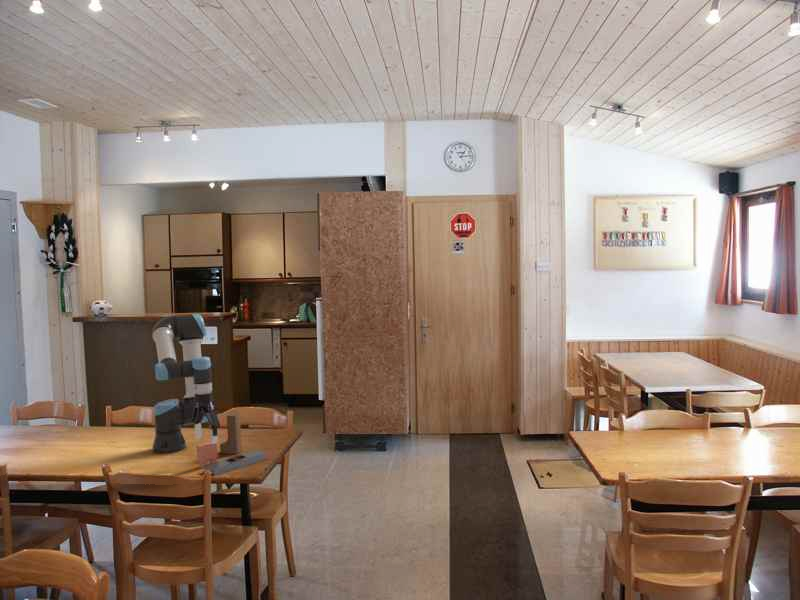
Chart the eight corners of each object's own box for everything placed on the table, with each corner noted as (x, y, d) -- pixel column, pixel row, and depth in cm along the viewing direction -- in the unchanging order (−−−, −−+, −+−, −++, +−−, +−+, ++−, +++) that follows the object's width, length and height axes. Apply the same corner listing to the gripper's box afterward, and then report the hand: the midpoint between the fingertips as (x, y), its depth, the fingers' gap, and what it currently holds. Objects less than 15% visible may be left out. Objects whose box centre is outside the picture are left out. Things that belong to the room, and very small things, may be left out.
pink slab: (197, 467, 269) (196, 445, 268) (214, 462, 275) (213, 440, 274) (201, 469, 267) (199, 446, 266) (218, 464, 272) (216, 441, 272)
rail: (204, 471, 263) (204, 464, 263) (256, 456, 282) (256, 449, 282) (214, 475, 257) (213, 468, 257) (266, 459, 276) (266, 452, 276)
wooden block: (220, 453, 288) (217, 415, 287) (225, 450, 292) (222, 413, 291) (237, 454, 286) (234, 416, 285) (242, 451, 290) (239, 413, 289)
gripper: (181, 391, 274) (184, 438, 275) (210, 397, 257) (213, 447, 258) (197, 388, 280) (200, 434, 281) (226, 394, 263) (229, 443, 264)
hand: (206, 440), depth 270 cm, fingers open, 13 cm apart
